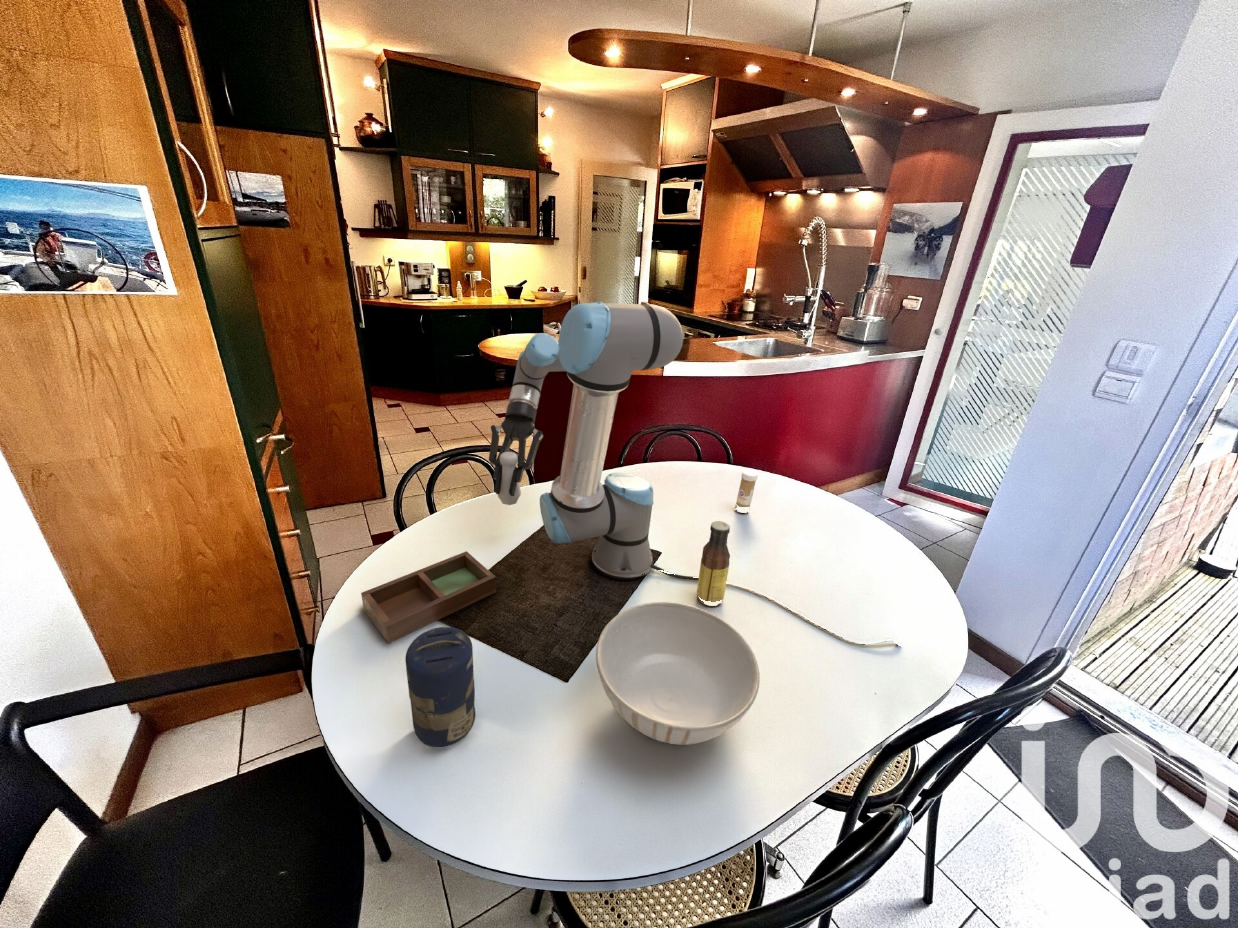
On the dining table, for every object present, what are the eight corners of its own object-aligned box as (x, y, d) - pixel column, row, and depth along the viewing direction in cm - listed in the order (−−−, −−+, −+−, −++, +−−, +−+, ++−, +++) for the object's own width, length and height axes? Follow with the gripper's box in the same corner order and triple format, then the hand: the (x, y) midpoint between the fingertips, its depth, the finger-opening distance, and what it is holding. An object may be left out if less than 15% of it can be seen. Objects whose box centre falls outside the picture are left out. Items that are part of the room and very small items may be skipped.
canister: (423, 699, 83) (414, 617, 76) (481, 699, 84) (477, 617, 77) (406, 753, 74) (393, 666, 67) (470, 752, 75) (464, 666, 68)
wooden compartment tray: (496, 592, 109) (495, 576, 108) (388, 643, 93) (386, 626, 92) (467, 565, 117) (466, 550, 115) (363, 609, 101) (360, 592, 99)
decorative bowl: (630, 811, 70) (639, 755, 65) (571, 669, 92) (574, 619, 87) (778, 750, 80) (796, 697, 75) (693, 635, 102) (702, 589, 97)
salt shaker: (515, 508, 120) (514, 460, 115) (493, 504, 121) (492, 456, 116) (524, 497, 125) (524, 451, 120) (503, 494, 126) (502, 447, 121)
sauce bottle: (725, 596, 115) (741, 523, 106) (718, 612, 109) (734, 536, 101) (698, 586, 117) (712, 515, 109) (690, 602, 112) (704, 527, 104)
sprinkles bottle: (731, 510, 153) (739, 472, 147) (738, 505, 156) (746, 467, 150) (745, 516, 150) (754, 477, 145) (751, 511, 153) (760, 472, 148)
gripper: (555, 416, 129) (539, 501, 121) (495, 410, 130) (475, 494, 122) (551, 403, 122) (534, 492, 114) (488, 396, 123) (466, 484, 115)
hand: (504, 493), depth 118 cm, fingers closed on salt shaker, 3 cm apart
